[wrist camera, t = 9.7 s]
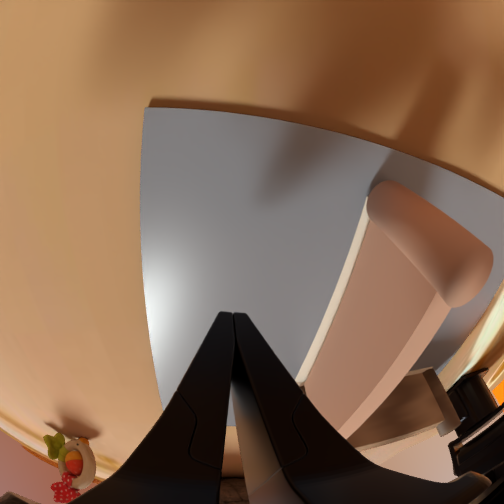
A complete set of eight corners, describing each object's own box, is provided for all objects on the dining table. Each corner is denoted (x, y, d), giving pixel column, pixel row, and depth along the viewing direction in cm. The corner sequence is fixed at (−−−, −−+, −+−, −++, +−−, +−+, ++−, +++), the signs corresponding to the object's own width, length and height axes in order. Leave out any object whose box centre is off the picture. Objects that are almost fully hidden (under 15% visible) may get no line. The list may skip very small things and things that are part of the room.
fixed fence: (436, 364, 19) (465, 420, 13) (424, 377, 20) (450, 432, 14) (294, 380, 17) (312, 468, 11) (287, 395, 18) (301, 476, 12)
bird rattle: (68, 413, 24) (37, 434, 22) (70, 486, 14) (36, 498, 13) (104, 434, 27) (70, 454, 25) (116, 503, 18) (77, 514, 16)
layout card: (528, 212, 12) (531, 214, 11) (408, 403, 23) (409, 406, 22) (147, 107, 8) (144, 107, 8) (166, 417, 19) (165, 421, 19)
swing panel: (326, 382, 16) (346, 452, 12) (298, 384, 16) (313, 458, 12) (412, 185, 10) (501, 249, 5) (373, 176, 10) (465, 242, 5)
